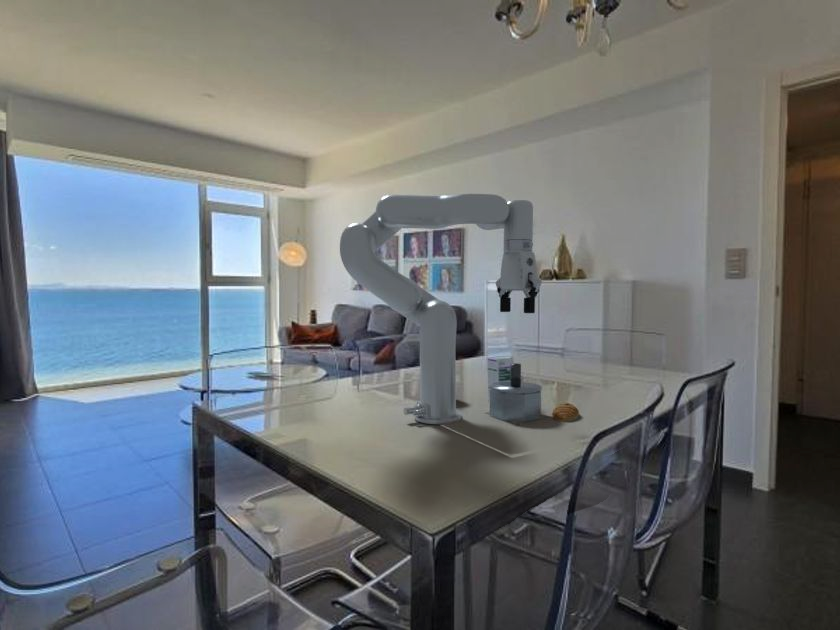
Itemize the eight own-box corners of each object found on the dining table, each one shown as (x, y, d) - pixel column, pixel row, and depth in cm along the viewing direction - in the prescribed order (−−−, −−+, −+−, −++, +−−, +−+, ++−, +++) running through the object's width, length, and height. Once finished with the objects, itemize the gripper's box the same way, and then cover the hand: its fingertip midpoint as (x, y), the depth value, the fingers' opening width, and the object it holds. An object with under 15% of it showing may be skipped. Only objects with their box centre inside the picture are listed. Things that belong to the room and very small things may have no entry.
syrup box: (498, 407, 139) (497, 358, 139) (487, 403, 145) (487, 355, 144) (514, 405, 141) (514, 356, 141) (502, 401, 147) (502, 354, 146)
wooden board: (512, 425, 120) (512, 422, 120) (484, 415, 130) (484, 412, 130) (548, 418, 125) (548, 416, 125) (518, 409, 136) (518, 407, 136)
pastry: (576, 426, 119) (576, 411, 119) (549, 423, 122) (549, 409, 122) (579, 417, 128) (579, 403, 128) (553, 415, 131) (553, 401, 131)
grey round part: (512, 424, 119) (512, 369, 118) (480, 412, 130) (480, 362, 130) (552, 417, 125) (552, 365, 125) (518, 406, 137) (518, 359, 136)
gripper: (551, 246, 120) (550, 313, 121) (508, 251, 135) (507, 311, 136) (529, 244, 116) (527, 313, 117) (486, 250, 132) (486, 311, 132)
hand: (516, 312), depth 126 cm, fingers open, 9 cm apart
